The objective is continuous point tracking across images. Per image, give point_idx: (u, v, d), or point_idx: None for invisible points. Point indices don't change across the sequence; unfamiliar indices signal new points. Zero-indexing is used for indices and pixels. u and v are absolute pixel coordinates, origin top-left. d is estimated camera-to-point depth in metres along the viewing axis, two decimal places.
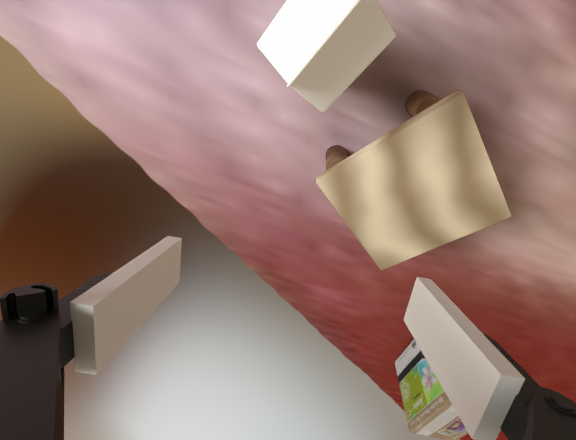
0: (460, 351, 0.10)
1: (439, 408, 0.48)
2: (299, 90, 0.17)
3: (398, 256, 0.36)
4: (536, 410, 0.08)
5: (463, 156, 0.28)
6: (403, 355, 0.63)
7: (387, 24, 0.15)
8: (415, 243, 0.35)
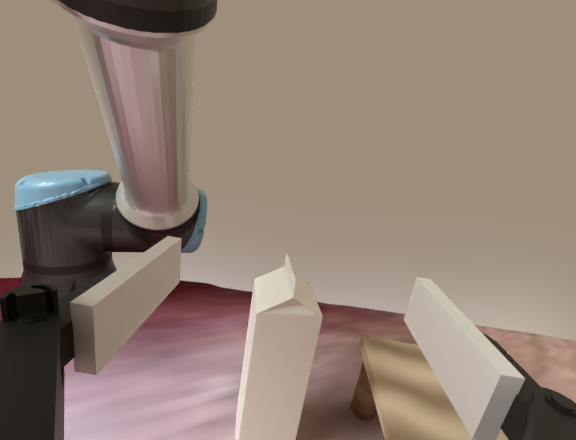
0: (460, 351, 0.10)
1: None
2: (300, 303, 0.24)
3: None
4: (536, 410, 0.08)
5: (411, 353, 0.34)
6: None
7: None
8: None
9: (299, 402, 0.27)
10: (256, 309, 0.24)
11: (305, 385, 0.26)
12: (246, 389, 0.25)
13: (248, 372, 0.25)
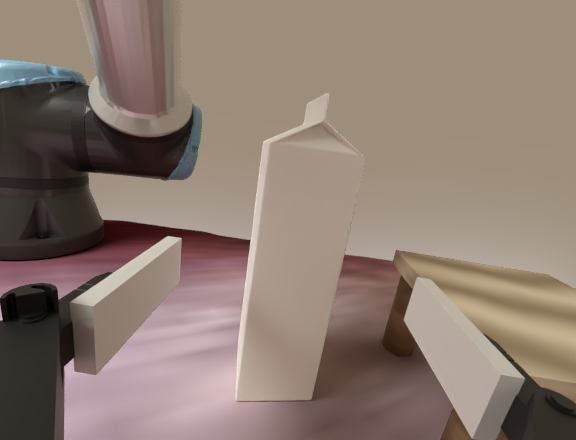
0: (460, 351, 0.10)
1: None
2: (334, 132, 0.16)
3: None
4: (536, 410, 0.08)
5: (463, 267, 0.27)
6: None
7: None
8: None
9: (327, 300, 0.19)
10: (269, 143, 0.16)
11: (336, 273, 0.18)
12: (253, 274, 0.18)
13: (256, 246, 0.17)
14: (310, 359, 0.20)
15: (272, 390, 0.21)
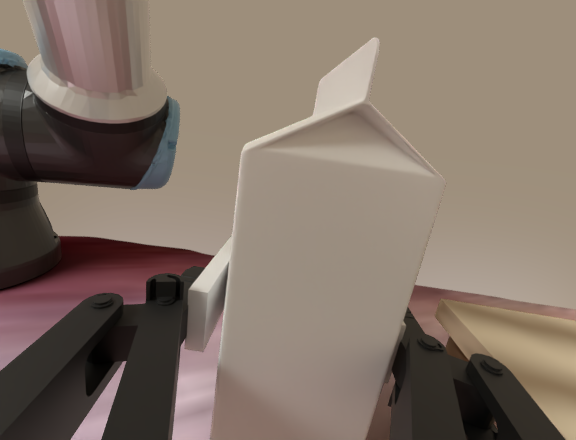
0: None
1: None
2: (386, 127, 0.07)
3: None
4: (412, 354, 0.09)
5: (545, 329, 0.18)
6: None
7: None
8: None
9: (356, 435, 0.10)
10: (244, 149, 0.07)
11: (375, 391, 0.10)
12: (217, 402, 0.09)
13: (222, 354, 0.09)
14: None
15: None
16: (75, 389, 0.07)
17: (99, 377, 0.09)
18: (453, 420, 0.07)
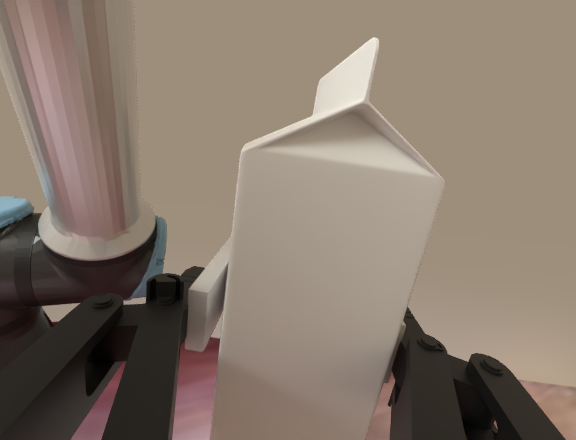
0: None
1: None
2: (385, 126, 0.07)
3: None
4: (412, 354, 0.09)
5: None
6: None
7: None
8: None
9: (356, 435, 0.10)
10: (243, 150, 0.07)
11: (375, 392, 0.10)
12: (217, 403, 0.09)
13: (221, 354, 0.09)
14: None
15: None
16: (75, 389, 0.07)
17: (99, 377, 0.09)
18: (453, 420, 0.07)
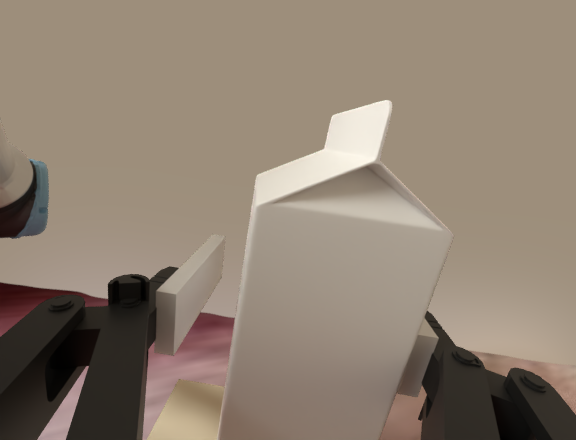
0: None
1: None
2: (396, 183, 0.07)
3: None
4: (445, 367, 0.09)
5: None
6: None
7: None
8: None
9: None
10: (257, 201, 0.08)
11: (377, 430, 0.10)
12: (223, 435, 0.09)
13: (229, 390, 0.09)
14: None
15: None
16: (35, 395, 0.07)
17: (61, 382, 0.08)
18: (490, 439, 0.06)
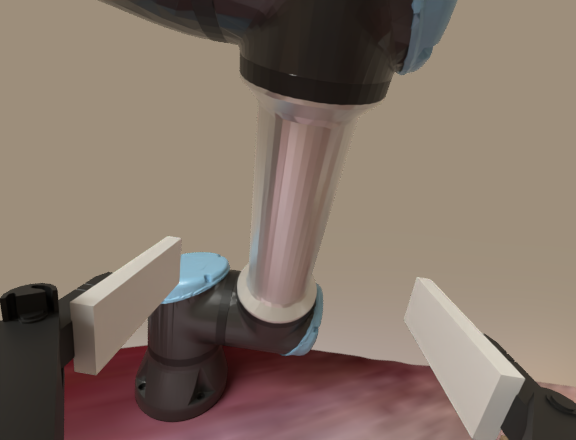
0: (460, 352, 0.10)
1: None
2: None
3: None
4: (536, 410, 0.08)
5: None
6: None
7: None
8: None
9: None
10: None
11: None
12: None
13: None
14: None
15: None
16: None
17: None
18: None
